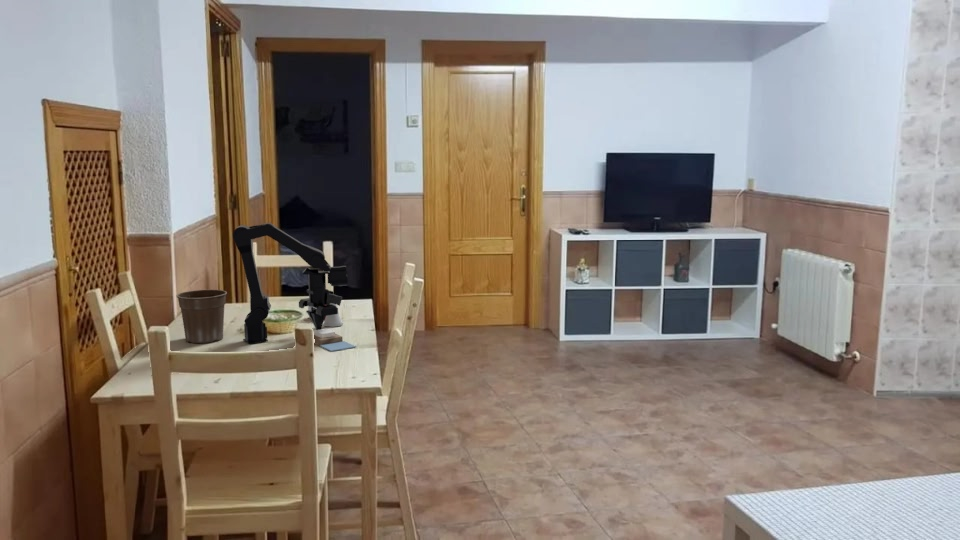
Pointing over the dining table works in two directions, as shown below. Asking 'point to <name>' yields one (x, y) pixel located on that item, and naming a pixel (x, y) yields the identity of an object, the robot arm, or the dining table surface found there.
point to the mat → (337, 346)
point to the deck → (328, 340)
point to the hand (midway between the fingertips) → (318, 331)
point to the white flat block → (324, 333)
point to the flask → (333, 319)
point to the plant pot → (202, 314)
